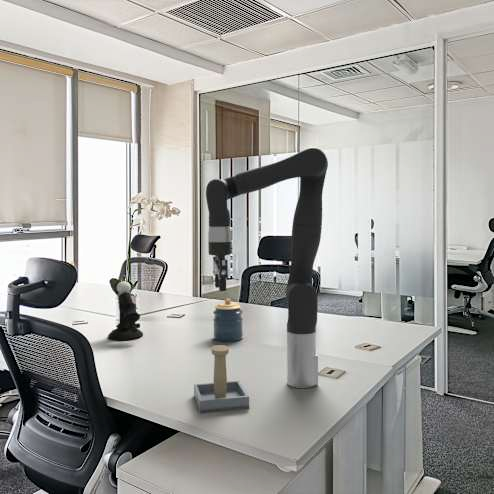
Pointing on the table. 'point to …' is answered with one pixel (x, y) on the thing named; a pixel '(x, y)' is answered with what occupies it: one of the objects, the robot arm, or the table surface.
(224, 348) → the beige club-shaped piece
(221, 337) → the canister
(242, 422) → the table surface
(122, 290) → the sculpture
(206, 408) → the tray
